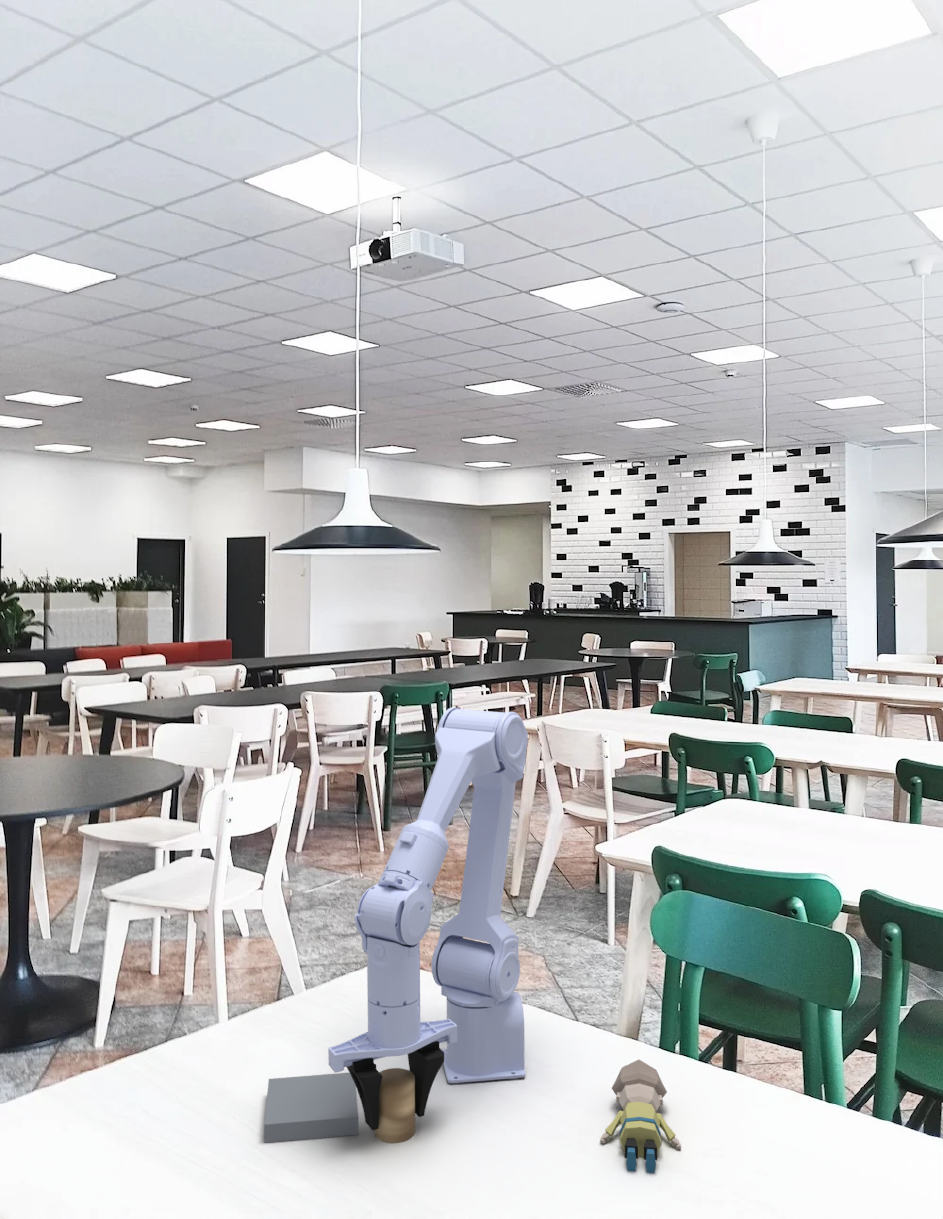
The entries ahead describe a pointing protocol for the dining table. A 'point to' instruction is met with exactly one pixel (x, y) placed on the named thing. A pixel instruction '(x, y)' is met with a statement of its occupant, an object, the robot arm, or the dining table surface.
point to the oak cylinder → (396, 1106)
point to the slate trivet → (311, 1107)
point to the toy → (640, 1115)
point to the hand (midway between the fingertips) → (395, 1118)
